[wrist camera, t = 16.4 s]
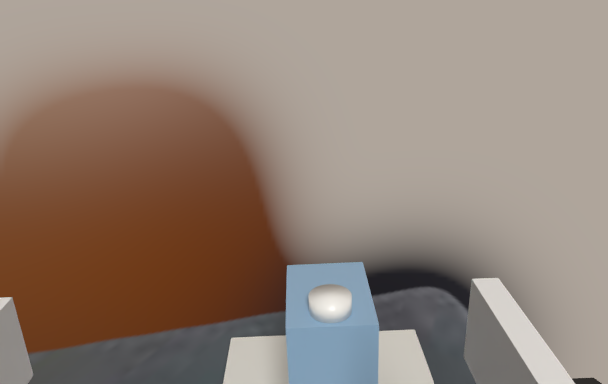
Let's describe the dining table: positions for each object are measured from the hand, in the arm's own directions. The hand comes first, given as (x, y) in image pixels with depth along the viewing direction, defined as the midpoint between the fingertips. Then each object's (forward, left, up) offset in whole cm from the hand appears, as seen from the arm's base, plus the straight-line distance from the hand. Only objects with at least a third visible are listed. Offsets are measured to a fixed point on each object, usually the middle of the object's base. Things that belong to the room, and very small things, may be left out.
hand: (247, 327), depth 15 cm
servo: (-11, +10, -22) cm, 26 cm away
